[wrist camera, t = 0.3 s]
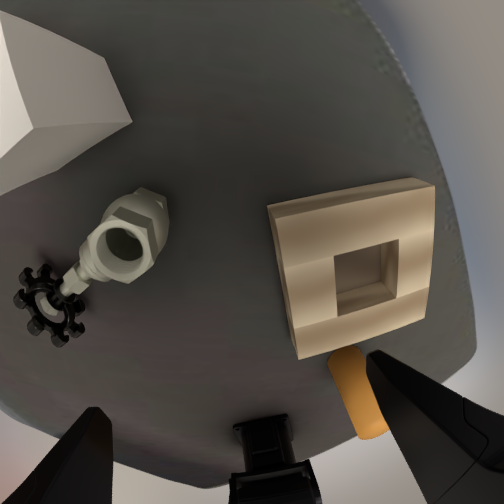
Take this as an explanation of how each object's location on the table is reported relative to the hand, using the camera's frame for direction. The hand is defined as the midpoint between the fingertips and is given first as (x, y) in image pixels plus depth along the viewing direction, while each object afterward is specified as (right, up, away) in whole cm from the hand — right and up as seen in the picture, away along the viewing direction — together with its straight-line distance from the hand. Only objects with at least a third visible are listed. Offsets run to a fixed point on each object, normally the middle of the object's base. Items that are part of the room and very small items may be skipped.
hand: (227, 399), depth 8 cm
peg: (+10, -6, +20) cm, 23 cm away
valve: (-10, +5, +12) cm, 17 cm away
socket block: (+9, +4, +15) cm, 18 cm away
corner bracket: (-14, +15, +7) cm, 22 cm away
